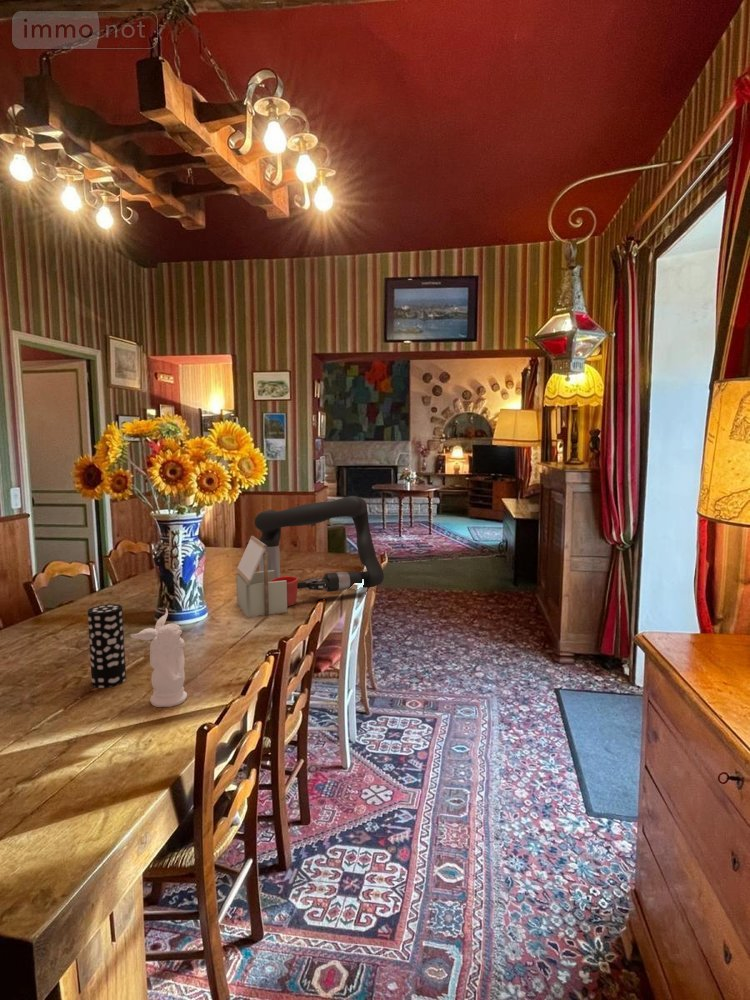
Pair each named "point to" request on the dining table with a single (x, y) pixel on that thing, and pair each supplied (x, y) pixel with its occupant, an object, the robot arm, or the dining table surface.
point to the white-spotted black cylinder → (106, 645)
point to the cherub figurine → (166, 662)
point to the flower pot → (289, 588)
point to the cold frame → (261, 594)
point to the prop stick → (266, 584)
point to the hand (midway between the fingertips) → (296, 585)
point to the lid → (251, 559)
